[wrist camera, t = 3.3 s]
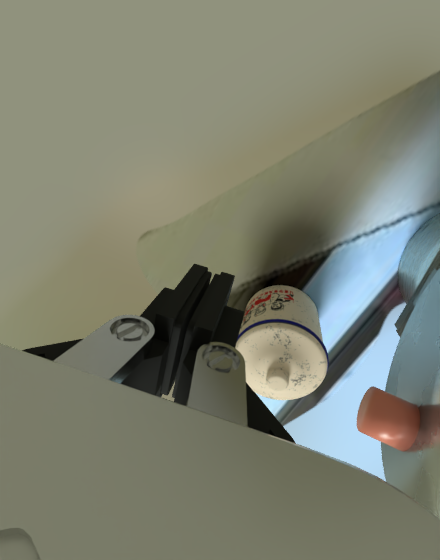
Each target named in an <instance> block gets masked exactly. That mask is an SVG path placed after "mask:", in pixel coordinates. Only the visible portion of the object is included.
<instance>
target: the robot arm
mask: <svg viewBox="0 0 440 560" xmlns="http://www.w3.org/2000/svg"><path fill="white" fill-rule="evenodd" d="M211 274H212V273H211V272H208V268H207V267H204V266H200V265H197V264H194V265H193V266H192V267H191V269H190V270H189V271H188V273H187V274H186V275H185V276H184V278H183V279H182V280H181V282H180V283H179V284H178V285H177V287H176V288H175V289H174V290H172V289H169V288H164V289H163V290H162V291H161V292H160V293H159V294H158V296H157V297H156V298H155V299H154V300H153V301H152V303H151V304H150V305H149V306H148V307H147V309H146V310H145V311H144V312H143V314H141V316H136V315H135V316H134V315H122V316H118V317H115V318H113V319H111V320H109V321H108V322H107V323H105V324H104V325H102V326H101V327H100V328H98V329H97V330H95V331H94V332H93V333H91V334H90V335H88V336H87V337H86V338H84V339H79V340H74V341H68V342H63V343H57V344H52V345H46V346H41V347H35V348H30V349H25V350H22V351H21V350H18V349H15V348H12V347H9V346H6V345H3V344H0V560H440V519H439V518H438V517H437V516H436V515H434V514H433V513H432V512H431V511H429V510H428V509H427V508H426V507H424V506H423V505H421V504H420V503H418V502H417V501H416V500H414V499H413V498H411V497H410V496H408V495H407V494H405V493H404V492H403V491H401V490H400V489H398V488H396V487H394V486H393V485H391V484H389V483H387V482H385V481H383V480H382V479H380V478H378V477H377V476H375V475H372V474H371V473H368V472H366V471H364V470H362V469H360V468H358V467H355V466H353V465H351V464H349V463H346V462H344V461H341V460H338V459H336V458H333V457H330V456H327V455H325V454H322V453H320V452H317V451H314V450H312V449H309V448H307V447H304V446H301V445H298V444H296V443H295V441H294V440H293V438H292V437H291V436H290V435H289V433H288V432H287V431H286V430H285V429H284V427H283V426H282V425H281V424H280V422H279V421H278V420H277V419H276V418H275V416H274V415H273V414H272V413H271V412H270V410H269V409H268V408H267V407H266V406H265V404H264V403H263V402H262V401H261V400H260V398H259V397H258V396H257V395H256V393H255V392H254V391H253V390H252V389H251V387H250V386H249V385H248V384H247V383H246V372H245V361H244V357H243V356H242V354H241V353H240V352H239V351H238V350H237V349H236V348H235V347H236V343H237V339H238V335H239V331H240V327H241V322H242V318H243V314H244V311H241V310H237V309H234V308H231V307H228V306H227V302H228V299H229V295H230V292H231V288H232V284H233V281H234V277H235V276H234V275H231V274H227V273H224V272H221V274H220V275H218V274H215V276H214V277H213V279H212V281H211V283H210V279H211ZM209 283H210V285H209ZM175 379H176V381H175ZM174 382H175V386H174V390H173V394H172V397H173V398H175V399H174V402H173V401H170V400H167V399H164V398H161V396H162V394H164V395H168V394H169V392H170V390H171V388H172V386H173V384H174Z"/></svg>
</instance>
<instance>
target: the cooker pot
mask: <svg viewBox="0 0 440 560" xmlns="http://www.w3.org/2000/svg"><path fill="white" fill-rule="evenodd" d="M434 268H436V269H439V268H440V213H439V214H437V215H436V216H434V217H433V218H431V219H430V220H429V221H428V222H426V223H425V224H424V225H423V226H422V227H421V228H420V229H419V230H418V231H417V232H416V233H415V234H414V236H413V237H412V238H411V239H410V241H409V243H408V244H407V246H406V247H405V249H404V252H403V254H402V256H401V259H400V262H399V267H398V285H399V290H400V293H401V295H402V297H403V299H404V301H405V302H406V304H407V305H406V306H405V308H404V310H403V312H402V313H401V315H400V316H399V318H398V320H397V322H396V323H395V326H396V328H397V330H396V331H397V333H398V335H399V336H400V338H401V335H402V333H403V330H404V328H405V326H406V324H407V322H408V319H409V317H410V315H411V313H412V311H413V309H414V308H415V306H414V304H413V302H414V301H415V299H416V298H417V296H418V294H419V293H420V291H421V289H422V288H423V286H424V284H425V283H426V281H427V279H428V278H429V276H430V275H431V273H432V271H433V270H434Z"/></svg>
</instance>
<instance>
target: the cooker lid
mask: <svg viewBox="0 0 440 560" xmlns="http://www.w3.org/2000/svg"><path fill="white" fill-rule="evenodd" d="M413 304H414V306H415V308H414V309H413V311H412V313H411V315H410V317H409V319H408V322H407V324H406V326H405V328H404V330H403V333H402V335H401V338H400V340H399V343H398V346H397V349H396V352H395V355H394V357H393V361H392V364H391V368H390V371H389V376H388V380H387V384H386V390H385V391H383V390H380V389H378V388H376V387H370V388H369V389H368V390H367V392H366V393H365V395H364V397H363V399H362V401H361V404H360V407H359V410H358V415H357V428H358V430H359V431H360V432H362V433H364V434H366V435H368V436H370V437H372V438H374V439H376V440H379V441H381V450H382V460H383V467H384V474H385V478H386V482H387V483H389V484H391V485H393V486H394V487H396V488H398V489H400V490H401V491H403V492H404V493H405V494H407V495H408V496H410V497H411V498H413V499H414V500H416V501H417V502H418V503H420V504H421V505H423V506H424V507H426V508H427V509H428V510H429V511H431V512H432V513H433V514H434V515H436V516H437V517H438V518H439V519H440V268H439V269H436V268H434V270H433V271H432V273H431V275H430V276H429V278H428V279H427V281H426V283H425V284H424V286H423V288H422V289H421V291H420V293H419V294H418V296H417V298H416V299H415V301H414V302H413Z"/></svg>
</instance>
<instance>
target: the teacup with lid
mask: <svg viewBox="0 0 440 560" xmlns="http://www.w3.org/2000/svg"><path fill="white" fill-rule="evenodd" d="M235 348H236V349H237V350H238V351H239V352H240V353H241V354H242V356H243V357H244V361H245V372H246V383H247V384H248V385H249V386H250V387H251V389H252V390H253V391H254V392H255V393H257V394H259V395H262V396H264V397H267V398H271V399H277V400H291V399H297V398H300V397H303V396H305V395H308V394H309V393H311V392H312V391H314V390H315V389H316V388H317V387H318V386H319V385H320V384H321V383H322V381H323V379H324V378H325V375H326V373H327V370H328V354H327V350H326V348H325V346H324V344H323V340H322V334H321V329H320V323H319V317H318V312H317V308H316V306H315V304H314V302H313V301H312V300H311V298H310V297H309V296H308V295H306V294H305V293H304V292H302V291H301V290H299V289H296V288H294V287H290V286H285V285H276V286H270V287H267V288H264V289H262V290H260V291H259V292H257V293H256V294H255V295H254V296H253V297H252V298H251V299H250V301H249V302H248V304H247V307H246V310H245V314H244V317H243V321H242V325H241V328H240V332H239V336H238V339H237V343H236V347H235Z"/></svg>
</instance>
